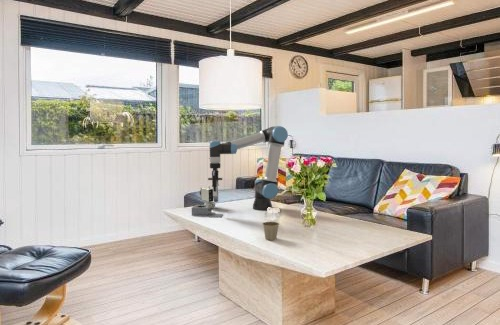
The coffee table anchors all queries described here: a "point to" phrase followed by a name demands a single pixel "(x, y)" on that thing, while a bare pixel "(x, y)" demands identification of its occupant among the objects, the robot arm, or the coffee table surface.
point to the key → (215, 198)
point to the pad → (216, 215)
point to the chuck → (201, 210)
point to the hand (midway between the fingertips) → (215, 195)
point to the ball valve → (207, 195)
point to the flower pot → (270, 230)
